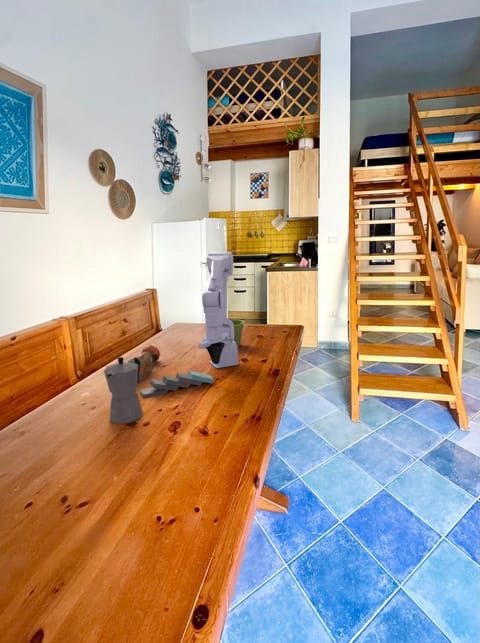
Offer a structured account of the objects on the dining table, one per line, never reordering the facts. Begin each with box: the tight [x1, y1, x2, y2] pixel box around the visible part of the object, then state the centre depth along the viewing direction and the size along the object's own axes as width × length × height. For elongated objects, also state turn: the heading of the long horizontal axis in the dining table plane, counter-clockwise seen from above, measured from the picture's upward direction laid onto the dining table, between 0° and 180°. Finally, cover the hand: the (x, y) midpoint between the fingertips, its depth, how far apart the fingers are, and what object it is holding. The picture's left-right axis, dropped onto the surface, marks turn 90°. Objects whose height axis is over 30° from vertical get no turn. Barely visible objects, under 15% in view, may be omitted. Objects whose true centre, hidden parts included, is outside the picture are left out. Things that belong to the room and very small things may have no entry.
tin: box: [133, 351, 154, 382], centre depth 140 cm, size 15×3×8 cm, turn 168°
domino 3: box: [162, 374, 190, 389], centre depth 128 cm, size 2×4×8 cm
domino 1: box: [140, 386, 169, 398], centre depth 125 cm, size 2×4×8 cm
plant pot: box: [230, 319, 245, 348], centre depth 173 cm, size 12×12×11 cm
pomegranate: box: [141, 344, 161, 363], centre depth 155 cm, size 7×7×10 cm
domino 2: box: [149, 379, 179, 392], centre depth 126 cm, size 2×4×8 cm
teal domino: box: [187, 370, 215, 385], centre depth 132 cm, size 2×4×8 cm
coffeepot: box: [103, 356, 144, 425], centre depth 108 cm, size 15×9×18 cm, turn 163°
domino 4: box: [175, 372, 203, 387], centre depth 130 cm, size 2×4×8 cm
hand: (215, 363), depth 133 cm, fingers closed
